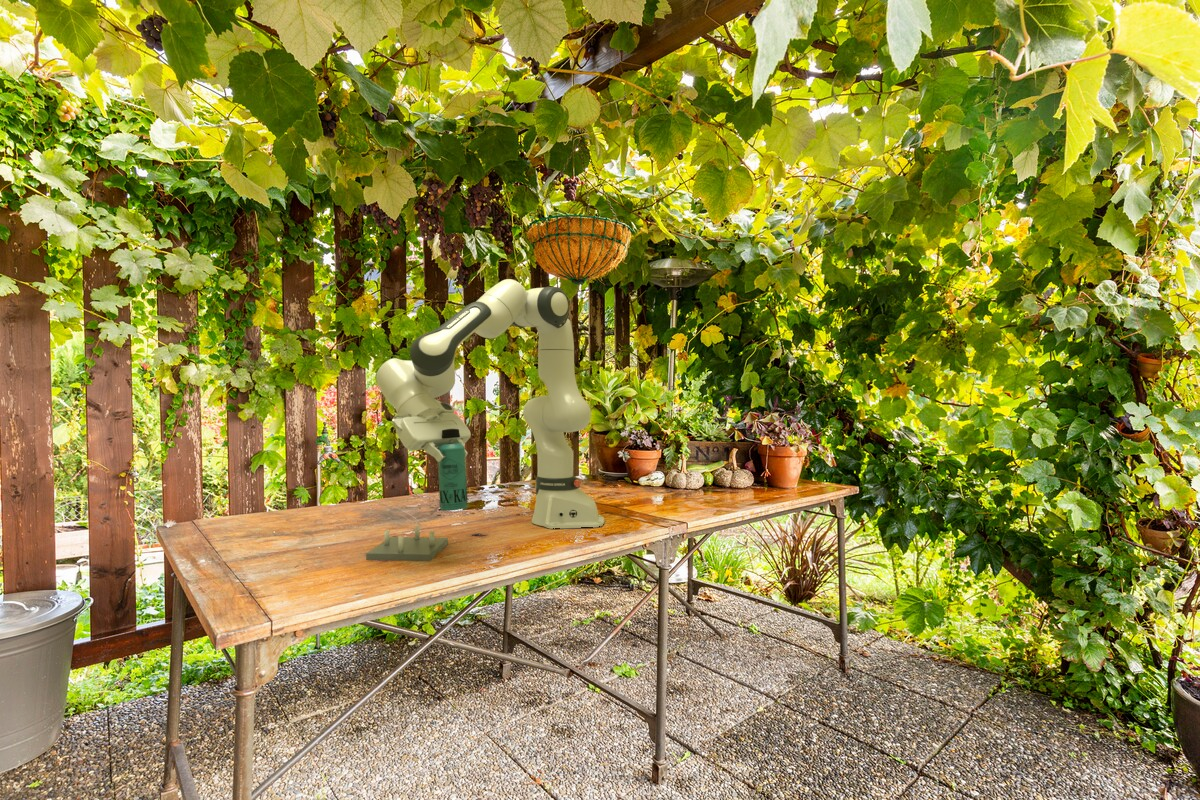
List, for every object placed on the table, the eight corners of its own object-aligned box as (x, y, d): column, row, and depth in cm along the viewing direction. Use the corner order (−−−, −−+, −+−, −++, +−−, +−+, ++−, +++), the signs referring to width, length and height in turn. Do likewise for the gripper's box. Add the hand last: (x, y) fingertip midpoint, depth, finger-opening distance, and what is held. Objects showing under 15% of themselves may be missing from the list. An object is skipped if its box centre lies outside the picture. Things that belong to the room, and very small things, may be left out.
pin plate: (448, 543, 145) (448, 524, 144) (429, 560, 130) (429, 539, 129) (390, 542, 145) (391, 523, 145) (366, 559, 130) (366, 538, 130)
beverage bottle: (438, 514, 130) (433, 429, 131) (466, 510, 133) (462, 427, 133) (441, 518, 124) (436, 429, 125) (471, 514, 127) (466, 427, 127)
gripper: (396, 406, 122) (430, 453, 118) (456, 405, 141) (487, 445, 137) (380, 425, 124) (414, 472, 120) (442, 422, 143) (472, 462, 139)
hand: (453, 458), depth 129 cm, fingers closed on beverage bottle, 6 cm apart
